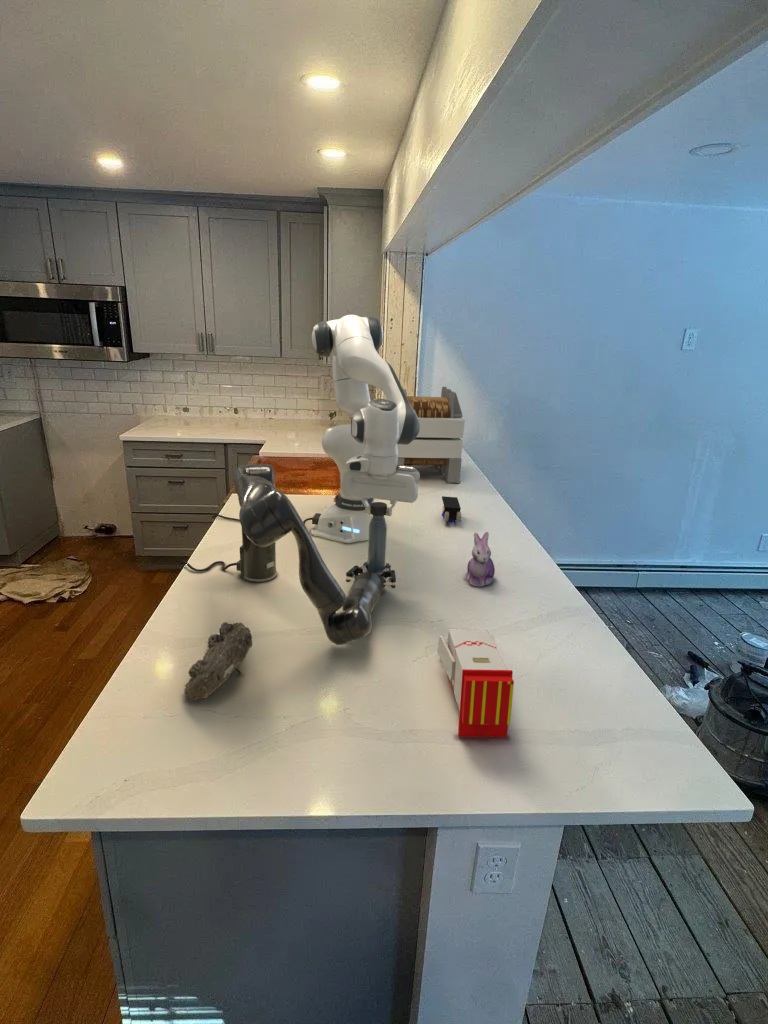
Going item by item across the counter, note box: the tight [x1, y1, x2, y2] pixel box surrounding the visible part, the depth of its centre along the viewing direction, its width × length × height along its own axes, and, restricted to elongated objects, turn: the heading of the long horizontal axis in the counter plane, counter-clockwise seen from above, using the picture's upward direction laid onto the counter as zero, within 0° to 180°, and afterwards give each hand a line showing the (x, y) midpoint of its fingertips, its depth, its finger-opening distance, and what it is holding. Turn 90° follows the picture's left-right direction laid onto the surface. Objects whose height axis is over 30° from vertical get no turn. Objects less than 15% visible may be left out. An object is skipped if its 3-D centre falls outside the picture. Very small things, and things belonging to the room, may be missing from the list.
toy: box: [437, 628, 515, 738], centre depth 117 cm, size 12×13×30 cm
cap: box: [370, 501, 388, 517], centre depth 151 cm, size 4×4×2 cm
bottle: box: [366, 515, 388, 595], centre depth 155 cm, size 5×5×25 cm
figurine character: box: [441, 495, 462, 526], centre depth 214 cm, size 7×8×15 cm
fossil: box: [183, 622, 253, 701], centre depth 120 cm, size 22×10×15 cm
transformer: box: [397, 386, 465, 484], centre depth 268 cm, size 34×33×41 cm
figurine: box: [466, 531, 496, 587], centre depth 165 cm, size 9×10×15 cm
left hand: (377, 565), depth 159 cm, fingers closed on bottle, 5 cm apart
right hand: (378, 513), depth 151 cm, fingers closed on cap, 4 cm apart
